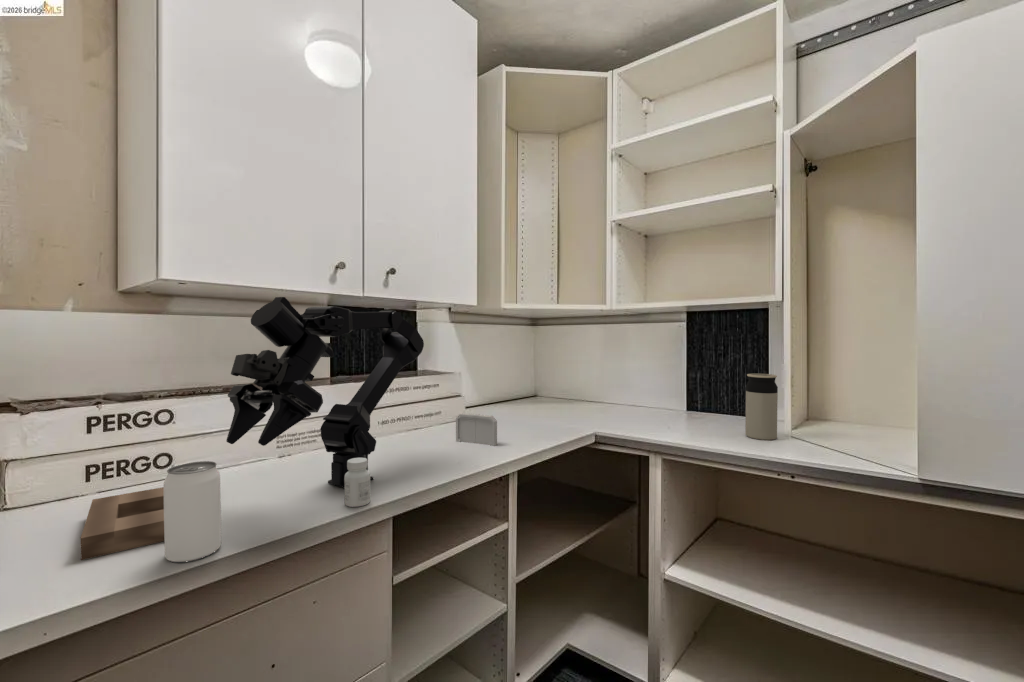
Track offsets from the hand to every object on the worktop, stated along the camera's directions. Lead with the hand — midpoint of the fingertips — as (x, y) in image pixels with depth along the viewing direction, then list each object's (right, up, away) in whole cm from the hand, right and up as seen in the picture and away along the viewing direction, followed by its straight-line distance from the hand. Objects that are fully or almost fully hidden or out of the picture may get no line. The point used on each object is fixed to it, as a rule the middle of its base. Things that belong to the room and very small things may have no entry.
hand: (244, 443), depth 71 cm
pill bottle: (+14, -13, +10) cm, 22 cm away
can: (-2, -14, -8) cm, 16 cm away
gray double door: (+32, -12, +53) cm, 63 cm away
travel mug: (+114, -12, +59) cm, 129 cm away
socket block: (-16, -13, +1) cm, 21 cm away
